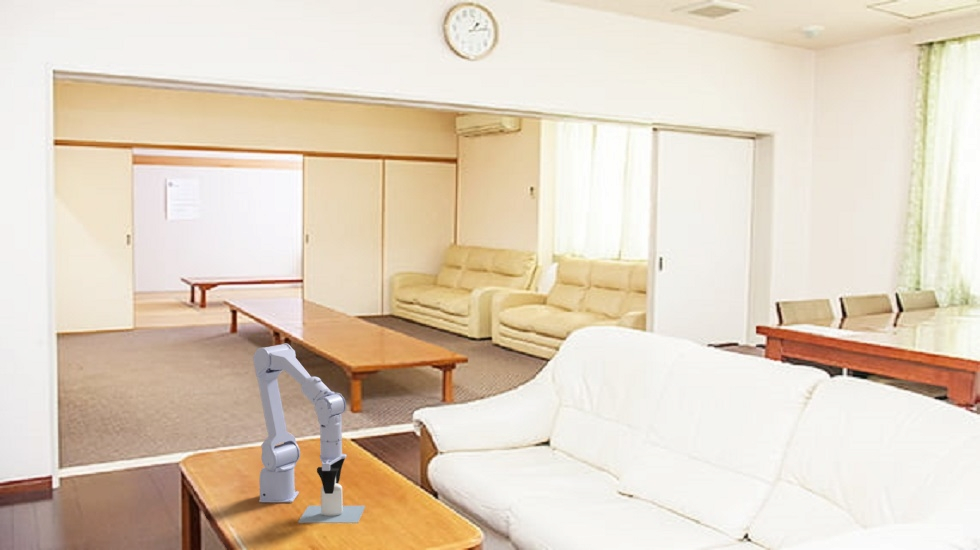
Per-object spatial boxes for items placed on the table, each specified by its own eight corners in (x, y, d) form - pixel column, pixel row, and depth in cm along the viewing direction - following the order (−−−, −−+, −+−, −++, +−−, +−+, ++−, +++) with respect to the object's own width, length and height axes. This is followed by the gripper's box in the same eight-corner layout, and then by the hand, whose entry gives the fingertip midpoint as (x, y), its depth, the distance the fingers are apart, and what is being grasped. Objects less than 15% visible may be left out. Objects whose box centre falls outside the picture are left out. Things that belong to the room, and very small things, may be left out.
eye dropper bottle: (335, 518, 218) (334, 474, 217) (318, 514, 220) (317, 471, 219) (345, 512, 222) (344, 469, 221) (328, 509, 224) (327, 467, 223)
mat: (297, 522, 215) (297, 522, 215) (308, 505, 227) (308, 505, 227) (358, 522, 215) (358, 522, 215) (365, 506, 227) (365, 505, 227)
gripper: (340, 447, 212) (341, 497, 213) (350, 431, 226) (351, 479, 228) (313, 447, 212) (314, 497, 213) (325, 431, 226) (326, 478, 228)
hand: (331, 488), depth 220 cm, fingers open, 7 cm apart
